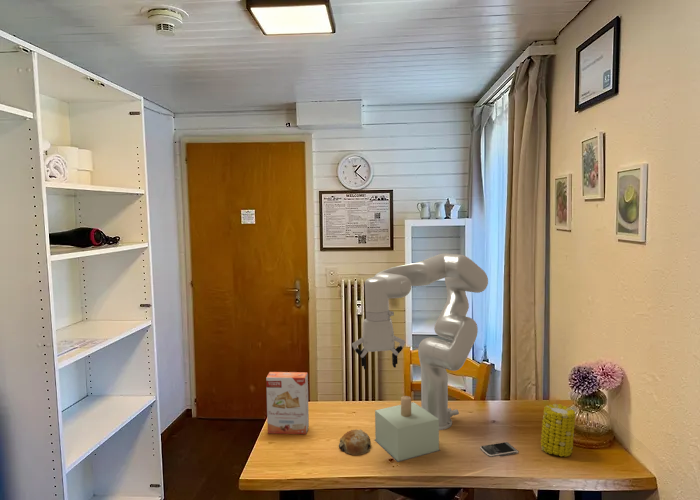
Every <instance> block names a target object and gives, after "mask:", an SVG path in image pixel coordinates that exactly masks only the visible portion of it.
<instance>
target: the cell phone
mask: <svg viewBox="0 0 700 500" xmlns="http://www.w3.org/2000/svg"><path fill="white" fill-rule="evenodd" d="M479 449H480V451H482V452H483V453H484V455H486V456H487V457H490V458H493V457H505V456H510V455H515V454H516V455H517V454H518V453H519V450H517V449H516V448H515V447H514V446H513V445H511V444H510V443H509V441H505V442H497V443H493V444H486V445H481V446H480V447H479Z"/></svg>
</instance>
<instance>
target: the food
mask: <svg viewBox="0 0 700 500" xmlns="http://www.w3.org/2000/svg"><path fill="white" fill-rule="evenodd" d="M543 408H544V409H543V416H542V419H541V421H542V423H541V435H540V436H541V437H540V443H541V444H540V447H541V451H543V452H545V453H546V454H547V453H548V454H549V455H556V456H560V457H566V458H567V457H569V456H571V454H572V453H573V449H574V448H573V447H574V437H575V424H576V412H575V410H574V409H572V408H571V407H567V406H566V405H562V404H561V403H559V404H558V403H553V404H548V405H545V406H544V407H543Z"/></svg>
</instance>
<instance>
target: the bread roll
mask: <svg viewBox="0 0 700 500" xmlns="http://www.w3.org/2000/svg"><path fill="white" fill-rule="evenodd" d="M371 444H372V443H371V438H370V435H368V433H367V432H365V431H363V430H362V429H351V430H349V431H347V432H345V433H344V434H343V436H342V437H340V439H339V444H338V449H341V452H343V453H345V454H347V455H353V456H358V455H365V454H366V453H369V452H370V448H371Z"/></svg>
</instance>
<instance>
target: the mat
mask: <svg viewBox="0 0 700 500" xmlns="http://www.w3.org/2000/svg"><path fill="white" fill-rule="evenodd" d="M374 441H375V442H376V444H378V445H379V446H380V447H381V448H382V449H383V450H384V451H385V452H386V453H387V454H388V455H390V457H391V458H393V459H394V461H396V462H397V463H400V462H404V461H408V460H411V459H414V458H418V457H419V458H420V457H422V456H425V455H430V454H433V453H437V452H440V451H441V449H439V450H438V451H434V452H430V453H427V454H423V455H419V456H415V457H412V458H408V459H404V460H400V461H397V460H396V459H395V458H394V457H393V456H392V455H391V454H390V453H389V452H388V451H387V450H386V449H385V448H384V447H383V446H381V445H380V444H379V443H378V442H377V441H376V440H375V439H374Z"/></svg>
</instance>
